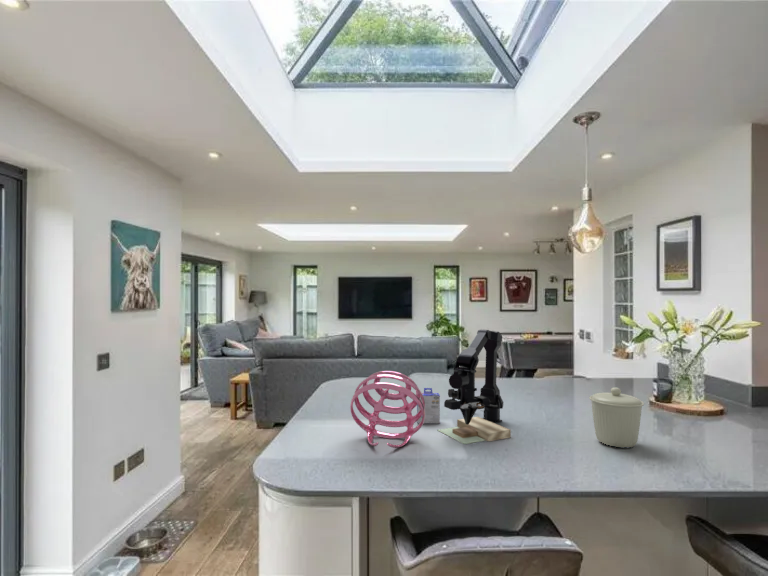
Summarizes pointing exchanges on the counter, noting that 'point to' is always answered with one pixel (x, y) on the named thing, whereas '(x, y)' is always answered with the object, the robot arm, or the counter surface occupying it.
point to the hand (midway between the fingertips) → (467, 424)
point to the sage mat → (462, 440)
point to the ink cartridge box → (430, 407)
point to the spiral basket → (381, 407)
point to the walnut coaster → (465, 432)
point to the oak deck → (486, 429)
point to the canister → (616, 418)
